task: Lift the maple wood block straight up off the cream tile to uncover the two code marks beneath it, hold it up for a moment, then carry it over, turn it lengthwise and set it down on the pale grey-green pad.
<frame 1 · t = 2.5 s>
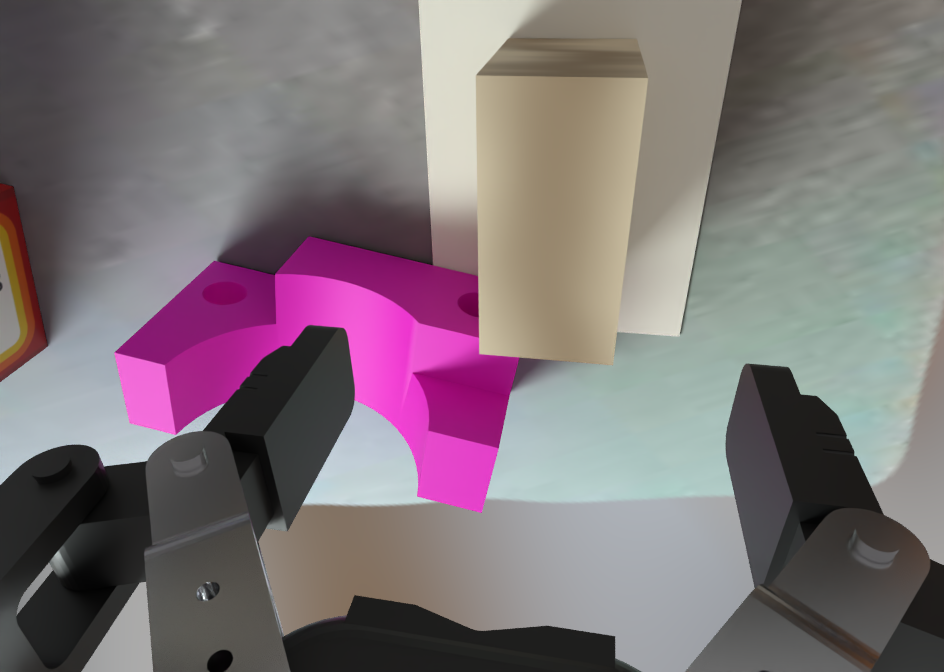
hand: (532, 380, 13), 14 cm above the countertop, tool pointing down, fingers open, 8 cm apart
toy block: (366, 305, 30), on the countertop, touching code tile
maple block: (563, 164, 25), resting on code tile
code tile: (564, 163, 25), on the countertop
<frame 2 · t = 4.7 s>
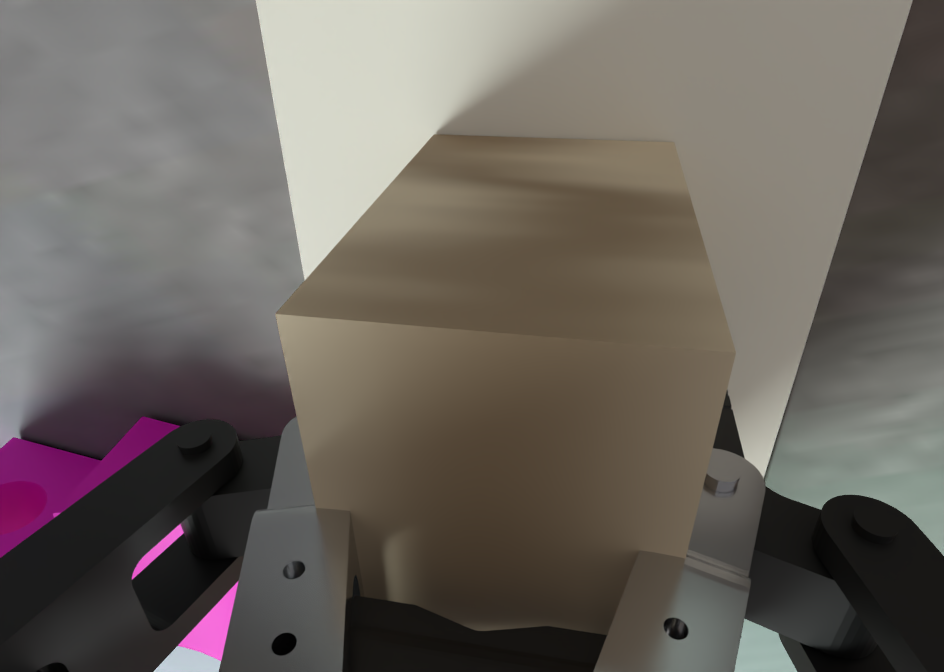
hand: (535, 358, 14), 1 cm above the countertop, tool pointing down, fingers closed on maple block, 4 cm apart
toy block: (245, 506, 20), on the countertop, touching code tile
maple block: (540, 339, 14), resting on code tile, touching gripper
code tile: (541, 336, 15), on the countertop
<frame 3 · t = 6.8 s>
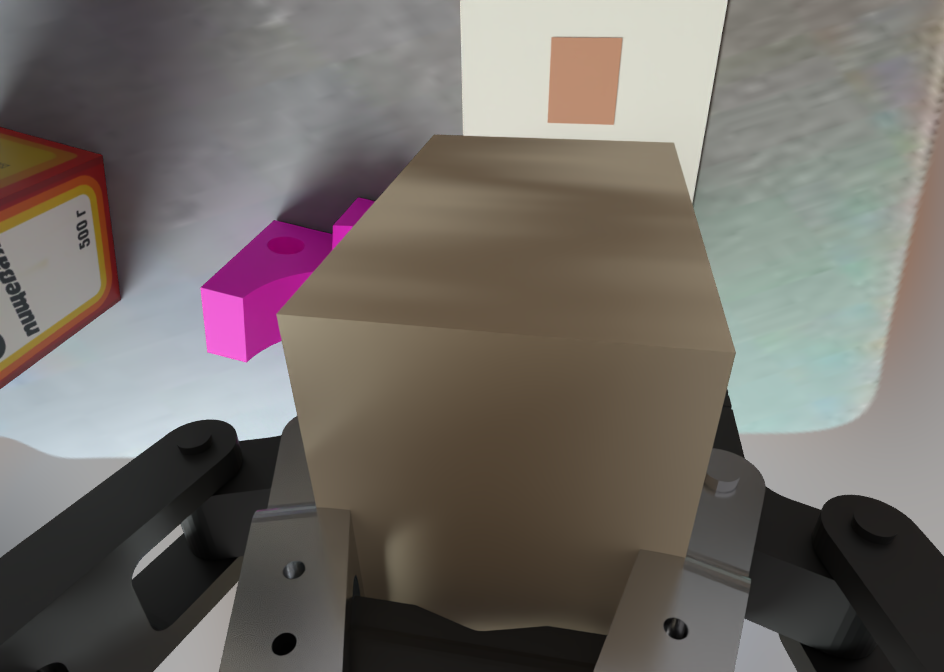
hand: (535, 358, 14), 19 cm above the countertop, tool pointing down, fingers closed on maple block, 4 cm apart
toy block: (405, 260, 35), on the countertop, touching code tile
baking soda box: (63, 216, 38), on the countertop
maple block: (540, 339, 14), point 18 cm above the countertop, touching gripper
code tile: (579, 131, 30), on the countertop
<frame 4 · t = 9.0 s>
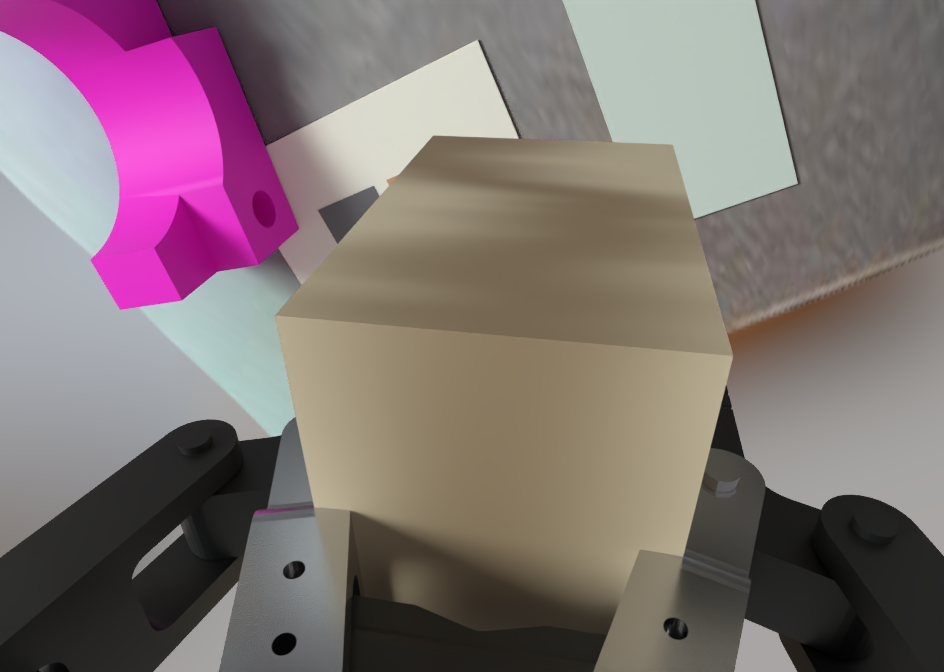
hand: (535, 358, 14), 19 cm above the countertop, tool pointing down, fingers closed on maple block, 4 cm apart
toy block: (192, 101, 33), on the countertop, touching code tile
maple block: (538, 340, 14), point 18 cm above the countertop, touching gripper
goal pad: (682, 88, 28), on the countertop
code tile: (394, 208, 33), on the countertop
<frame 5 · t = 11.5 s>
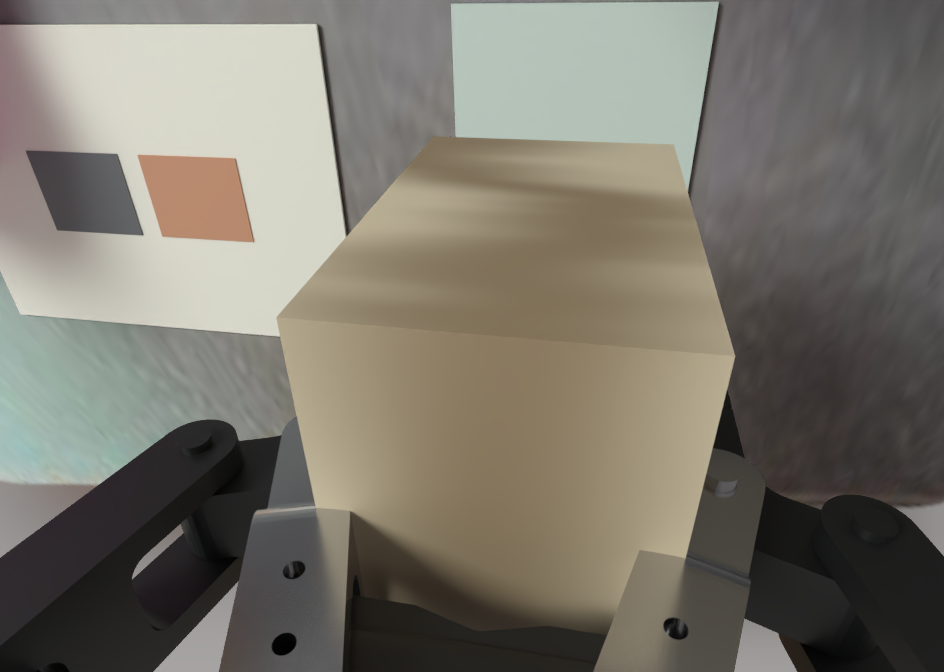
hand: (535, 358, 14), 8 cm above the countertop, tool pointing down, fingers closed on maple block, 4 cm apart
maple block: (540, 341, 14), point 7 cm above the countertop, touching gripper
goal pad: (567, 215, 20), on the countertop
code tile: (142, 195, 23), on the countertop
when the fingers open (2 cm above the countertop, at t = 13.4 s): maple block drops 2 cm, resting on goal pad.
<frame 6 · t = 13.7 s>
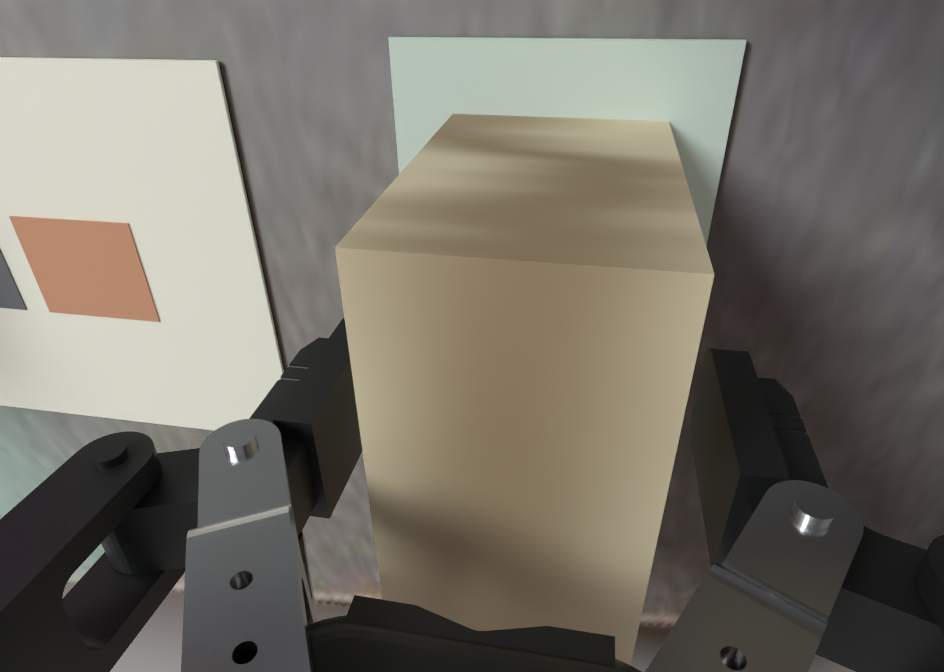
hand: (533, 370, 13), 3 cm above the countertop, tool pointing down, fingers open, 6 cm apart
maple block: (546, 304, 16), resting on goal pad
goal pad: (545, 302, 16), on the countertop
code tile: (21, 263, 18), on the countertop
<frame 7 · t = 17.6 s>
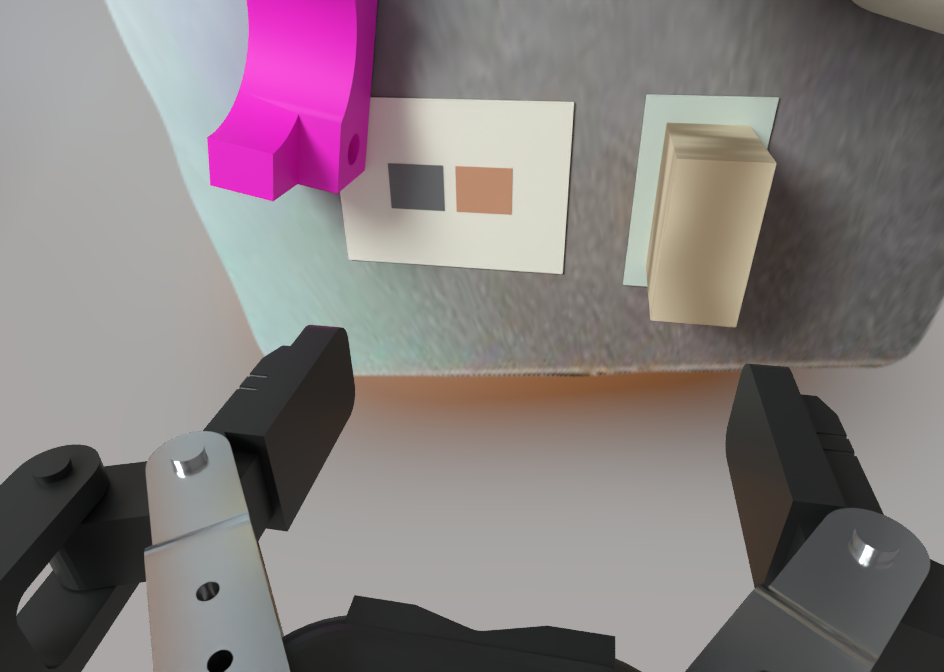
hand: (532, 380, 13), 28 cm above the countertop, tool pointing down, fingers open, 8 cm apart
toy block: (325, 34, 37), on the countertop, touching code tile
maple block: (693, 200, 38), resting on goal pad
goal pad: (693, 199, 38), on the countertop
code tile: (450, 188, 41), on the countertop
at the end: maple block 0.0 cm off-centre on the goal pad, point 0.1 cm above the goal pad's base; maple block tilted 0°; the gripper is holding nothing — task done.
